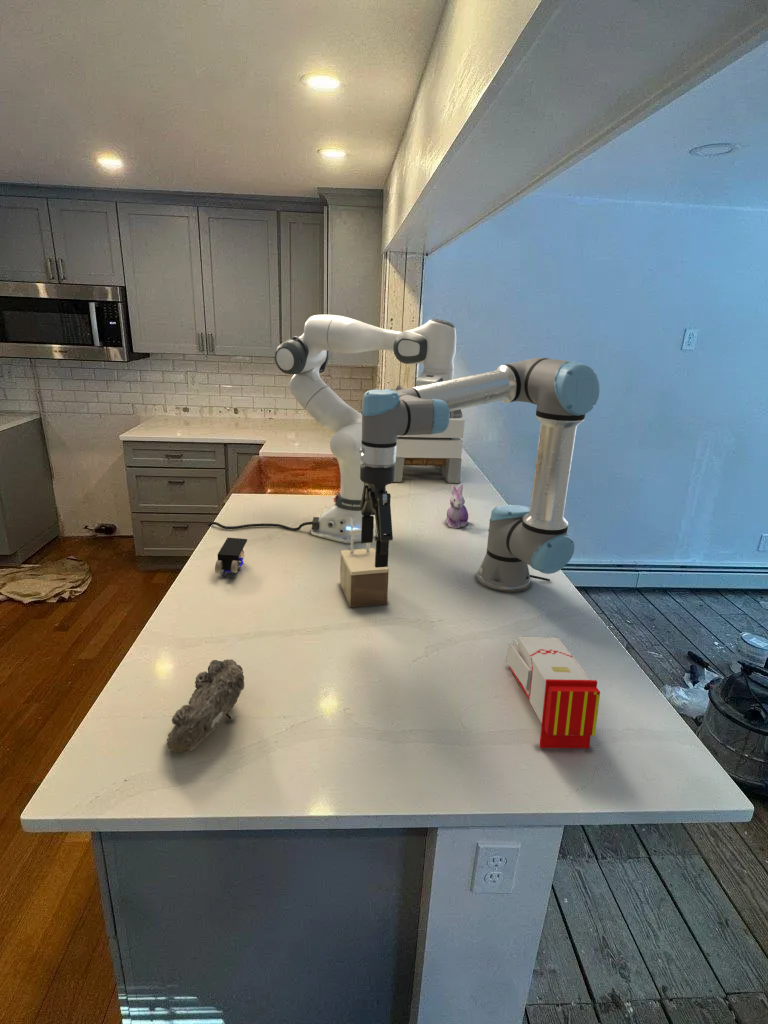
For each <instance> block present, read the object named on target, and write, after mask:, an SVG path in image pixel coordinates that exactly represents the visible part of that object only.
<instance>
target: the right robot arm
mask: <svg viewBox="0 0 768 1024" xmlns="http://www.w3.org/2000/svg"><path fill="white" fill-rule="evenodd" d="M600 385H601V384H600V380H599V378H598V375H597V373H596V372H595V370H594V369H593V368H592V367H591V366H589V365H587V364H584V363H581V362H577V361H573V360H565V359H564V360H563V359H556V358H548V357H535V358H534V357H533V358H529V359H524V360H519V361H516V362H511V363H506V364H501V365H499V366H497V367H496V369H495V370H492V371H487V372H483V373H478V374H472V375H467V376H461V377H458V378H453V379H452V380H447V381H442V382H437V383H432V384H427V385H423V386H413V387H407V388H403V389H402V390H396V388H385V389H384V388H383V389H370V390H367V391H366V392H365V393H364V394H363V399H362V406H361V407H362V408H361V414H362V441H361V443H362V445H361V446H362V448H361V449H359V453H361V461H362V462H363V463H362V464H361V465H360V480H361V481H362V482H364V488H363V493H362V499H361V504H360V510H362V512H361V514H362V515H364V516H362V531H361V541H360V543H361V544H366V543H369V544H371V543H374V541H375V549H376V552H375V567H376V568H377V567H388V566H389V550H390V541H393V539H394V536H393V535H394V534H393V523H392V521H393V520H392V509H391V496H392V495H391V493H390V492H388V490H387V489H386V487H387V486H388V485H391V484H393V483H395V482H394V479H395V466H394V465H393V464H394V463H395V462H396V448H397V436H403V435H425V434H429V435H432V434H437V433H442V432H444V431H445V430H446V429H447V427H448V425H449V419H450V411H455V410H459V409H461V410H463V409H468V408H473V407H476V406H477V407H478V406H481V405H486V404H490V403H496V402H501V403H504V404H508V403H515V402H516V403H517V402H521V403H529V404H533V405H536V410H535V418H537V420H538V421H539V422H540V428H539V436H538V443H537V451H536V459H535V466H534V475H533V482H532V491H531V498H530V506H525V505H521V504H519V505H518V504H503V505H498V506H495V507H493V508H492V510H491V513H490V517H489V523H488V525H489V526H488V535H487V545H486V552H485V553H486V554H485V555H484V558H483V559H482V562H481V563H480V566H479V568H478V570H477V580H478V582H479V583H480V584H481V585H483V586H484V587H486V588H488V589H491V590H493V591H498V592H503V593H516V592H517V593H519V592H522V591H525V590H526V589H529V587H530V583H531V579H536V580H542V581H546V582H551V579H550V578H546V577H543V576H538V575H534V574H530V569H529V566H530V567H531V568H532V569H533V570H535V571H538V572H540V573H542V574H545V575H551V574H556V573H557V572H559V571H561V570H563V568H565V566H566V565H568V563H569V562H570V561H571V559H572V558H573V555H574V552H575V542H574V540H573V539H572V538H571V536H570V535H568V528H569V522H568V520H567V519H566V518H565V517H564V513H565V507H566V503H567V496H568V495H567V494H568V487H569V481H570V475H571V469H572V462H573V460H572V459H573V454H574V448H575V441H576V435H577V429H578V428H577V427H579V425H580V424H581V423H583V422H584V421H585V419H586V414H589V413H590V412H591V411H592V410H593V409H594V406H596V404H597V402H598V401H599V398H600V392H601V387H600ZM370 515H373V516H370ZM373 527H374V528H375V529H376V535H377V536H375V537H373ZM388 568H389V567H388Z"/></svg>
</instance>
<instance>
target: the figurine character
mask: <svg viewBox="0 0 768 1024" xmlns="http://www.w3.org/2000/svg"><path fill="white" fill-rule="evenodd" d="M247 542H248V538H240V537H226V539H225V541H224V543H223V544H222V546H221V547H220V549H219V551H218V552H217V560H216V562H215V564H214V572H215V573H221V577H222V578H224V577H225V576H226V574H227V573H230V574H231V573H232V574H231V578H234V577H235V575H236V573H237V572H239V571H240V567H242V566H243V565H244V564H245V562H244V558H245V551H244V547H245V546H246V544H247Z"/></svg>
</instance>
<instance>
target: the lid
mask: <svg viewBox="0 0 768 1024" xmlns="http://www.w3.org/2000/svg"><path fill="white" fill-rule="evenodd" d="M361 531H362V529H350V534H351V543H350V549H343V550H340V557H341V556H342V558H343V560H344V562H345V564H346V566H347V568H348V570H349V572H350V574H351V575H363V574H374V573H386V572H389V571H390V569H389V567H377V568H376V567H375V552H376V547H370V543H365V544H366V545H365V546H366V547H365V548H357V549H355V547H354V546H355V545H354V544H355V542H354V535H357V534H361Z"/></svg>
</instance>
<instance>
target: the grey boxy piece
mask: <svg viewBox="0 0 768 1024" xmlns="http://www.w3.org/2000/svg"><path fill="white" fill-rule="evenodd" d="M402 389H404V388H403V387H402V385H399V384H398V385H397V386H396V388H395V390H402ZM464 429H465V419H464V418H463V411H462V409H459V410H455V411H450V419H449V425H448V427H447V429H446V430H445V431H444V432H442V433H437V434H432V435H429V434H425V435H403V436H397V448H396V462H395V463H394V464H393V465H394V466H395V479H394V482H393V483H402V482H403V475H404V469H405V466H406V467H407V466H411V467H412V466H413V467H415V466H416V467H417V466H418V467H436V468H437V470H438V469H439V473H440V474H441V475H443V478H444V479H445V481H446V482H447V483H449V484H455V483H456V484H459V483H461V472H462V461H463V460H462V453H463V442H464V441H463V440H462V439H463V438H464V431H465V430H464Z"/></svg>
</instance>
